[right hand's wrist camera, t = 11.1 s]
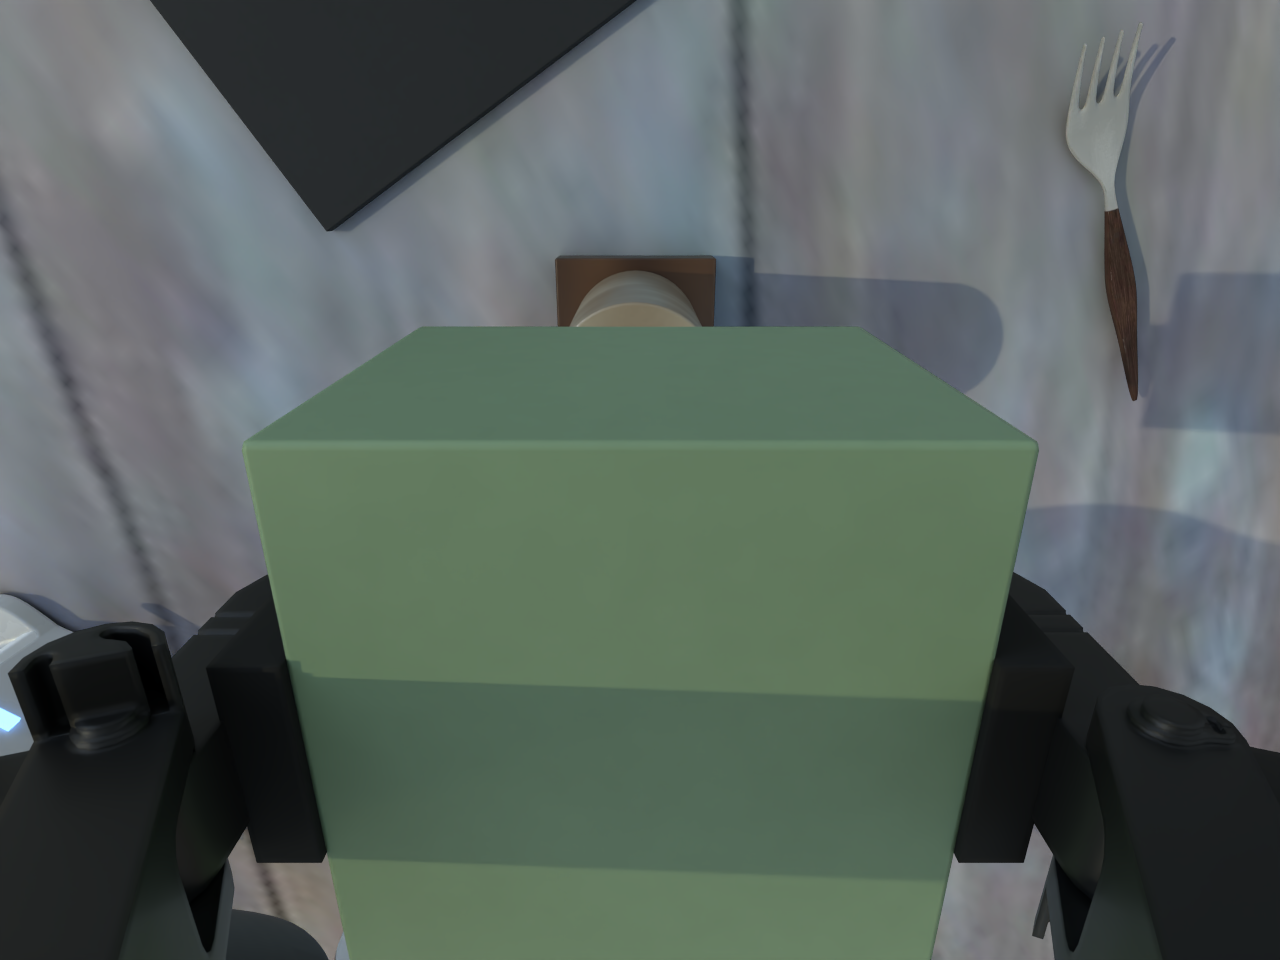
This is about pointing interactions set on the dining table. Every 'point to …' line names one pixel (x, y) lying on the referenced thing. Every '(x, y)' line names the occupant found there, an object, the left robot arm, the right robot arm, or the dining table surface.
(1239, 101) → the dining table surface
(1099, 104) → the fork
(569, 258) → the caddy
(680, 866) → the sage green cube
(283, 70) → the slate mat
